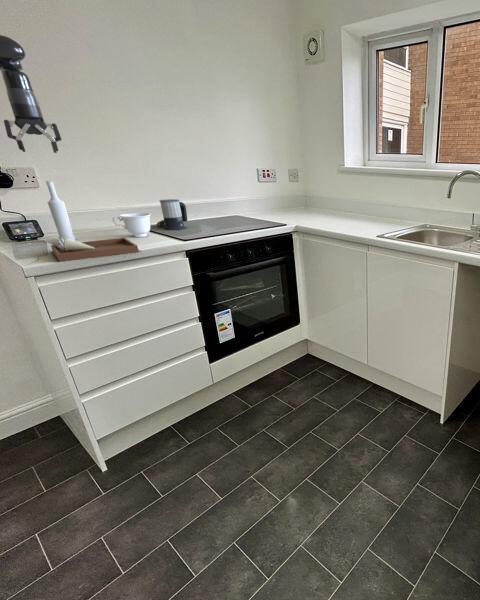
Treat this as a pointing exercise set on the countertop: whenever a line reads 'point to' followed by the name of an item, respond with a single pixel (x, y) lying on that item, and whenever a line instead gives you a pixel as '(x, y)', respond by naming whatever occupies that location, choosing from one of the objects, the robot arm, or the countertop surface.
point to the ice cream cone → (69, 244)
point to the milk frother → (173, 214)
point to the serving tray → (97, 249)
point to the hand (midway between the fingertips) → (40, 152)
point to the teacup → (135, 223)
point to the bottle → (59, 214)
